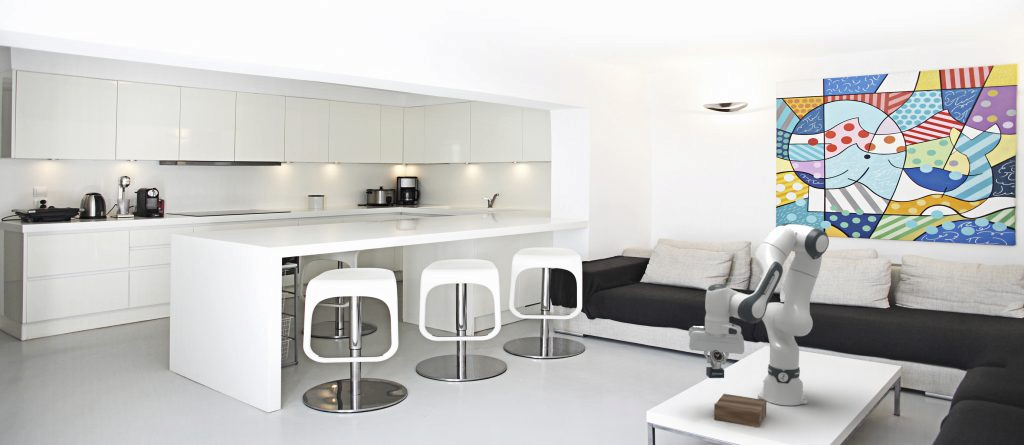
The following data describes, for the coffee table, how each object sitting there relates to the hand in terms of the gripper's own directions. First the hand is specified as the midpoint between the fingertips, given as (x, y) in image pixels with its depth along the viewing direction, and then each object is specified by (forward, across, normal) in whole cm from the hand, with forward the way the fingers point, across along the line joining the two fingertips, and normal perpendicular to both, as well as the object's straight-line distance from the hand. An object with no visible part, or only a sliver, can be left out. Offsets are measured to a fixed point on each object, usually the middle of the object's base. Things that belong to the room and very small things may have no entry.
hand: (716, 363), depth 276 cm
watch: (+5, 0, 0) cm, 5 cm away
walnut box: (+20, +9, -1) cm, 22 cm away
